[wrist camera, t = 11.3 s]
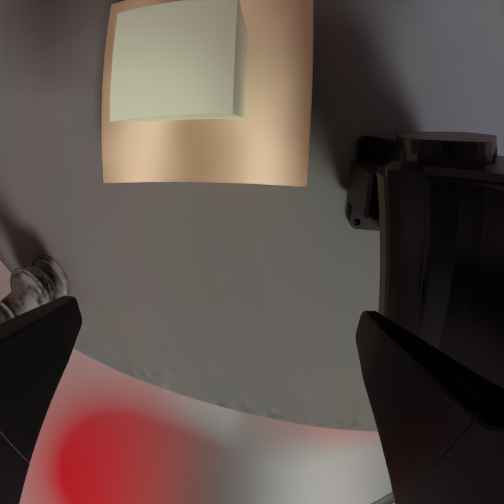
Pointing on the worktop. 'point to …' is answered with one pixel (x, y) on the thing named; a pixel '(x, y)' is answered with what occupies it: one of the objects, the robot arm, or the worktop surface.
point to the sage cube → (180, 62)
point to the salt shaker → (34, 287)
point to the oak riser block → (227, 130)
